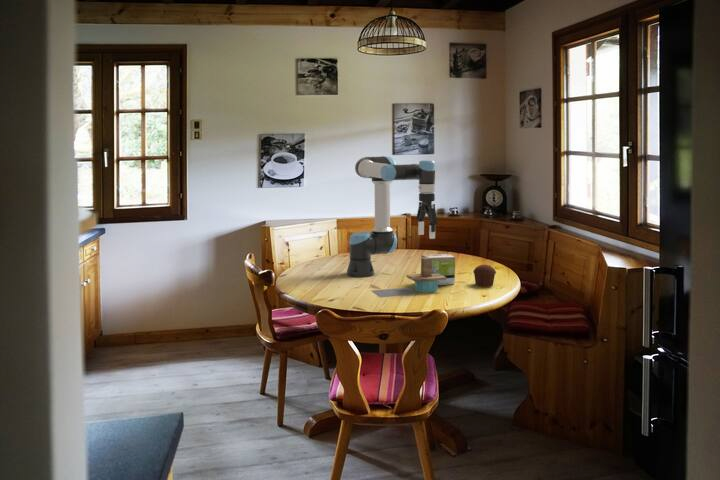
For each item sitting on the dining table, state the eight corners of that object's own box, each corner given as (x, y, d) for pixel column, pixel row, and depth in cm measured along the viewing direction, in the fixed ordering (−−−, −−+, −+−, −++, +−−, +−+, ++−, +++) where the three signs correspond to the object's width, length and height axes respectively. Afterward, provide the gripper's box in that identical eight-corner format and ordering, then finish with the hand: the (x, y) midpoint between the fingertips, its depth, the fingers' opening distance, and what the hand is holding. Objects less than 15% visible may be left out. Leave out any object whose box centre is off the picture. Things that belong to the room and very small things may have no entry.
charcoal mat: (370, 291, 296) (370, 290, 296) (408, 288, 302) (408, 287, 302) (379, 298, 283) (379, 297, 283) (419, 294, 288) (419, 293, 288)
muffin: (468, 284, 309) (468, 265, 308) (482, 281, 316) (482, 262, 315) (486, 288, 300) (486, 268, 299) (500, 284, 307) (501, 265, 305)
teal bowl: (411, 288, 301) (411, 276, 300) (432, 287, 304) (432, 275, 303) (420, 293, 290) (420, 281, 289) (441, 291, 293) (441, 279, 292)
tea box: (427, 286, 305) (428, 257, 303) (420, 282, 314) (420, 254, 312) (455, 284, 309) (455, 256, 307) (447, 280, 318) (447, 253, 316)
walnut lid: (406, 277, 299) (406, 257, 298) (436, 274, 304) (436, 255, 302) (415, 282, 288) (415, 261, 287) (446, 279, 293) (446, 259, 291)
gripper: (409, 191, 300) (409, 233, 304) (430, 195, 277) (429, 240, 280) (423, 190, 303) (423, 232, 306) (445, 194, 279) (444, 239, 282)
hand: (426, 236), depth 293 cm, fingers open, 13 cm apart
